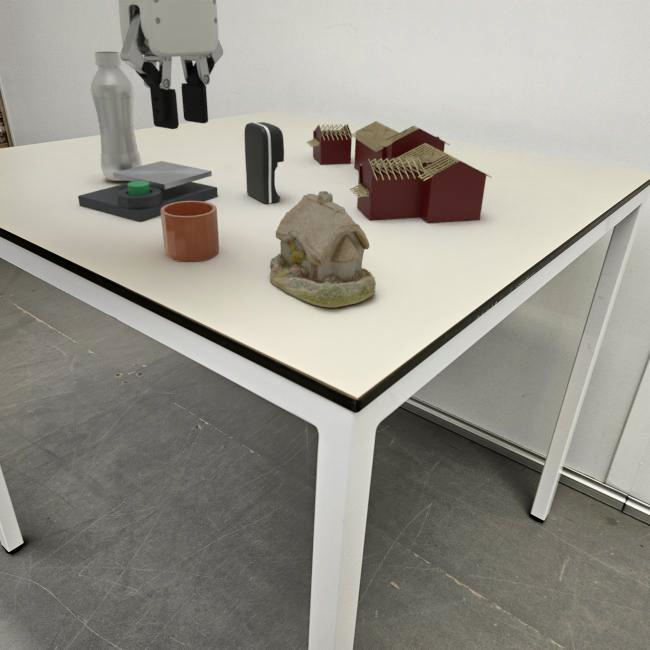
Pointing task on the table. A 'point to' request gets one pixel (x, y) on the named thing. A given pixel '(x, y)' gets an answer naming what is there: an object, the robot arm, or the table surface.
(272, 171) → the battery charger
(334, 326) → the table surface
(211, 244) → the ramekin
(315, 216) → the ceramic model
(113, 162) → the plastic bottle
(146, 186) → the tare button
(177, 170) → the scale pan
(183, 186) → the scale
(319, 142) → the toy houses
